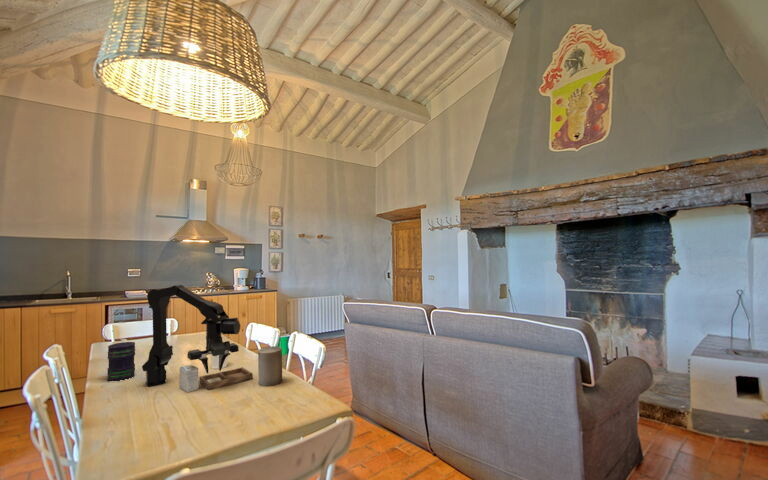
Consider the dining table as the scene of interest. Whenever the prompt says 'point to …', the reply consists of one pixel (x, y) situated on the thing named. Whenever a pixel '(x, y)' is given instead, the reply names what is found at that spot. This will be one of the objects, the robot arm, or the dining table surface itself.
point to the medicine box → (189, 378)
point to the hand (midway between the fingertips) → (213, 371)
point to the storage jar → (121, 361)
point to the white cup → (217, 362)
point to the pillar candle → (270, 366)
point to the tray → (225, 378)
